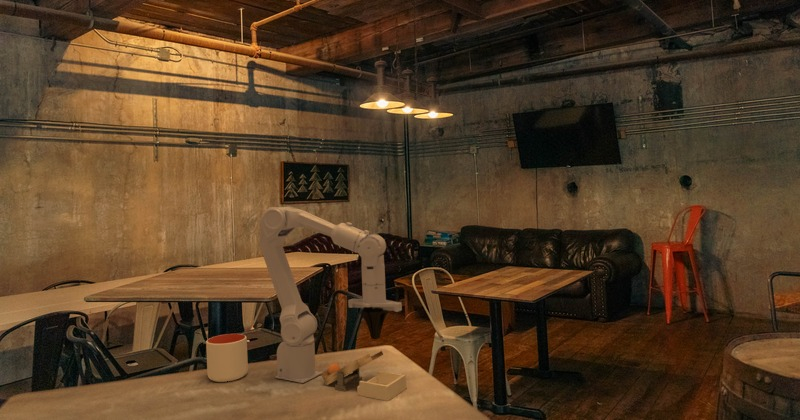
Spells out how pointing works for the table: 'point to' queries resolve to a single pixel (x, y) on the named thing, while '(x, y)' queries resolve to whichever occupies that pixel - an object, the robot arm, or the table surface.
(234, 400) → the table surface
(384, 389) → the tray
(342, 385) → the pivot bracket
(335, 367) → the ball
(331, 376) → the catapult lever
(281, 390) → the table surface
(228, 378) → the cup
